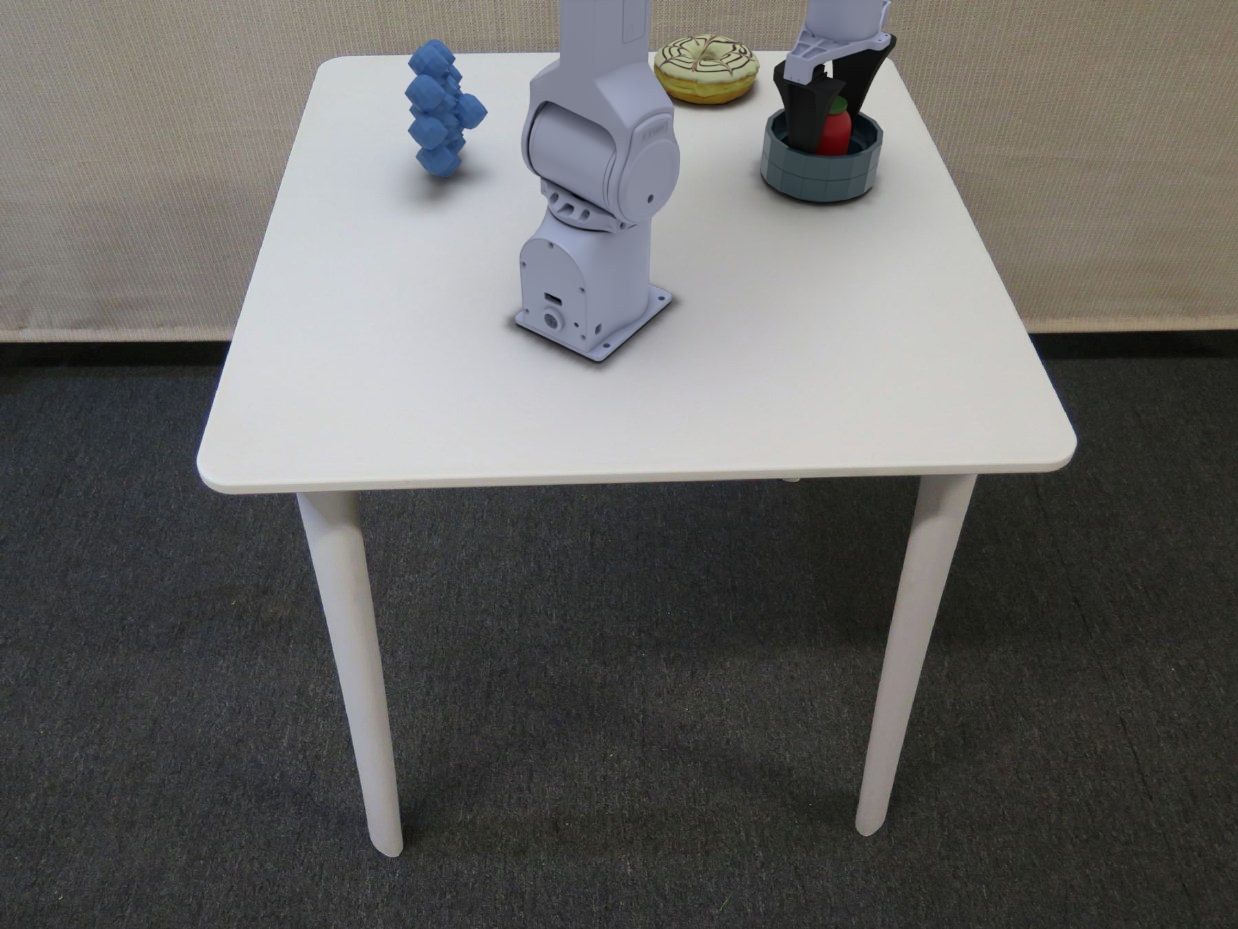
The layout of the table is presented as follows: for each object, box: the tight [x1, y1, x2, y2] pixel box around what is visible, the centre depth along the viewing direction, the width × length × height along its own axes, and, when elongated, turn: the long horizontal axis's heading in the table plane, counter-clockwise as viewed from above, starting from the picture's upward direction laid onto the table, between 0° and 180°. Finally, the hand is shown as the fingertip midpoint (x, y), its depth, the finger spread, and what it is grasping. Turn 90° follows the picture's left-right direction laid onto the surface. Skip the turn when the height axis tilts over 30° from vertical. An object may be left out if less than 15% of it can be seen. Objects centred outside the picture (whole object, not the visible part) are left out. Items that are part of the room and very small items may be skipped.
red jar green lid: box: [815, 96, 851, 156], centre depth 86 cm, size 4×4×6 cm
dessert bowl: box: [759, 107, 884, 203], centre depth 87 cm, size 10×10×4 cm
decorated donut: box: [653, 33, 761, 105], centre depth 99 cm, size 10×11×4 cm
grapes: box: [404, 38, 489, 178], centre depth 84 cm, size 12×7×12 cm, turn 178°
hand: (823, 134), depth 85 cm, fingers open, 7 cm apart
